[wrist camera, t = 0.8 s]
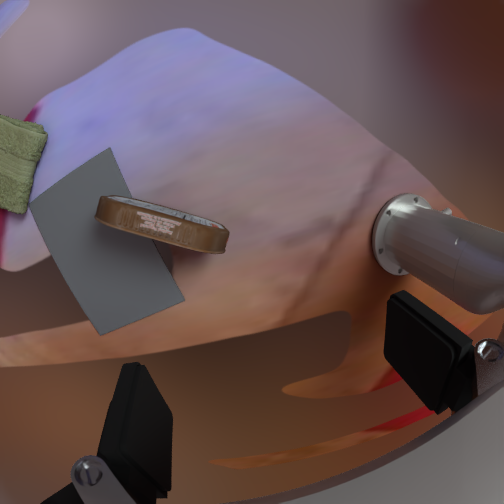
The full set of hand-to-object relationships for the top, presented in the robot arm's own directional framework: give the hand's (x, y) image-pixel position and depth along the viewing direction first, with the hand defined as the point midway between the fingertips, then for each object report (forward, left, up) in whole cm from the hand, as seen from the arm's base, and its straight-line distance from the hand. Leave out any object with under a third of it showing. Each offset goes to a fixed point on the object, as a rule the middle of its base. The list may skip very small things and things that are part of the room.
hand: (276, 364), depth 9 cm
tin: (+7, -4, -26) cm, 27 cm away
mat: (+17, -4, -26) cm, 32 cm away
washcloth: (+27, -24, -26) cm, 45 cm away
